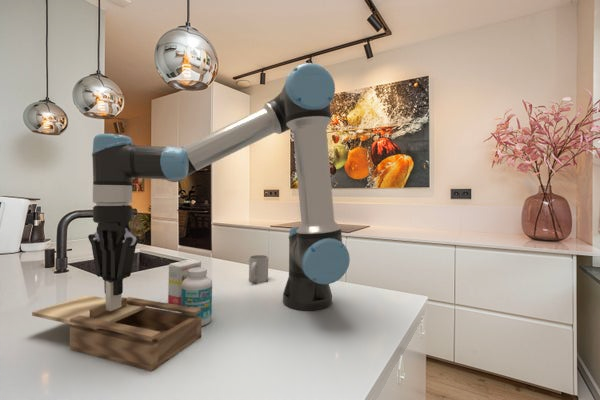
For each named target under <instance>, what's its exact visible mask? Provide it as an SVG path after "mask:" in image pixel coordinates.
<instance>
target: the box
mask: <svg viewBox="0 0 600 400" xmlns="http://www.w3.org/2000/svg"><path fill="white" fill-rule="evenodd" d="M126 298H127V303H130V304H136V305H141V306H146V309H143V310H141V311H139V312H136V313H134V314H132V315H130V316H127V317H125V318H123V319H121V320H118V321H116V322H110V321H105V320H100V319H96V318H91V317H86V316H81V315H79V316H76V317H73V318H71V319H70V322H73V323H78V324H82V325H87V326H91V327H96V328H100V329H98V330H94V329H89V328H85V327H80V326H76V325H72V326H70V327H69V350H70V351H71V350H72V351H74V352H77V353H78V352H79V353H82V354H87V355H91V356H94V357H96V358H97V357H98V358H101V359H104V360H105V359H106V360H109V361H112V362H116V363H120V364H124V365H127V366H131V367H135V368H138V369H142V370H146V371H150V372H153V371H155V370H157V368H158V367H160V366H162V365H163V364H164V363H166V362H168V361H169V360H170V359H171V358H173V357H175V355H177V354H179V353H180V352H182V351H183V350H184V349H186V348H187V347H189V346H190V345H191V344H193V343H194V342H196V341H197V340H199V339H200V338H201V337H202V326H201V317H200V316H194V315H196V314H198V313H200V312H201V309H198V308H192V307H186V306H180V305H174V304H168V302H163V301H162V302H161V301H155V300H149V299H142V298H138V297H131V296H128V297H126ZM182 313H187V314H182ZM188 314H193V315H188Z"/></svg>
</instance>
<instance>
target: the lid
mask: <svg viewBox="0 0 600 400" xmlns="http://www.w3.org/2000/svg"><path fill="white" fill-rule="evenodd" d="M121 302H122V307H120V308H117V309H115V310H112V311H107V310H106V297H100V296H95V295H88V294H85V295H82V296H78V297H76V298H74V299H73V298H72V299H70V300H66V301H63V302H60V303H57V304H54V305H50V306H48V307H44V308H41V309H38V310H34V311H32V312H31V316H32V317H36V318H40V319H46V320H50V321H54V322H59V323H63V324H66V325H67V324H68V325H70V326H71V325H72V326H75V325H76V326H80V327H85V328H89V329H94V330H98V329H100V328H96V327H91V326H87V325H82V324H78V323H73V322H70V319H71V318H73V317H76V316H79V315H81V316H86V317H91V318H96V319H100V320H105V321H110V322H116V321H118V320H121V319H123V318H125V317H127V316H130V315H132V314H134V313H136V312H139V311H141V310H143V309H146V307H147V306H141V305H136V304H130V303H127V297H124V296H121Z"/></svg>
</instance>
